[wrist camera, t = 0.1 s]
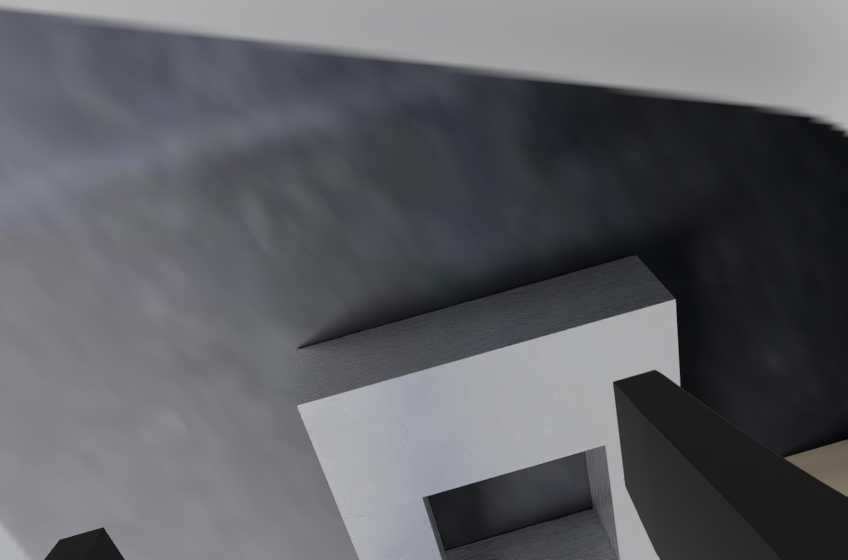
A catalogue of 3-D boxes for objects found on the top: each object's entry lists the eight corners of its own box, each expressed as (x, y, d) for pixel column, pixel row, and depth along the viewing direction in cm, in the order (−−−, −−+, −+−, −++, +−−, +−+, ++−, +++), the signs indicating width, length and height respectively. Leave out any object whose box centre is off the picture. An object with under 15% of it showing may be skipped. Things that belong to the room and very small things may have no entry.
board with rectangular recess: (667, 630, 30) (696, 689, 28) (431, 700, 30) (442, 764, 28) (636, 255, 21) (675, 299, 19) (296, 349, 21) (296, 405, 19)
